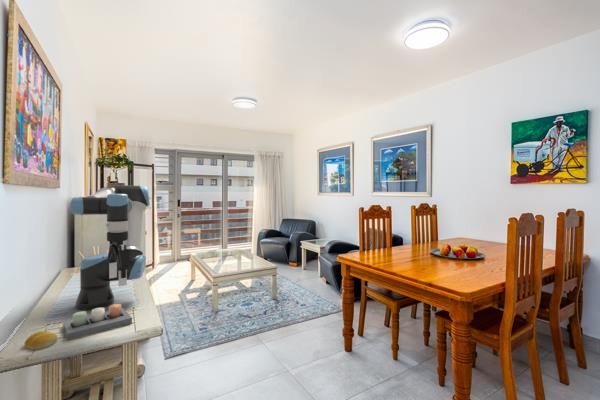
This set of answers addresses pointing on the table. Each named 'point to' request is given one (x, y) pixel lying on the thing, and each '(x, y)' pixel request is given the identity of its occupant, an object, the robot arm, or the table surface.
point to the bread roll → (40, 340)
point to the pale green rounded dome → (79, 318)
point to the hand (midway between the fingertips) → (117, 281)
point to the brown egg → (114, 310)
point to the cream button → (97, 314)
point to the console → (96, 325)
